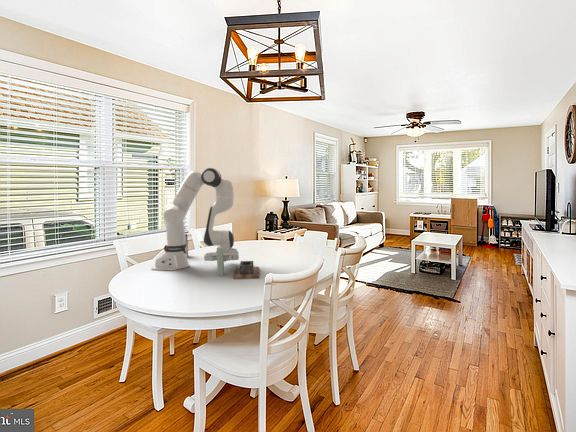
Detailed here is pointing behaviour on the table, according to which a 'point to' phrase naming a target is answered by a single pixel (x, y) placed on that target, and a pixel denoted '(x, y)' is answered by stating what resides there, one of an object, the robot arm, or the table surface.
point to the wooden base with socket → (246, 271)
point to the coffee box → (186, 243)
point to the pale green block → (220, 261)
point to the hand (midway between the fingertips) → (220, 259)
